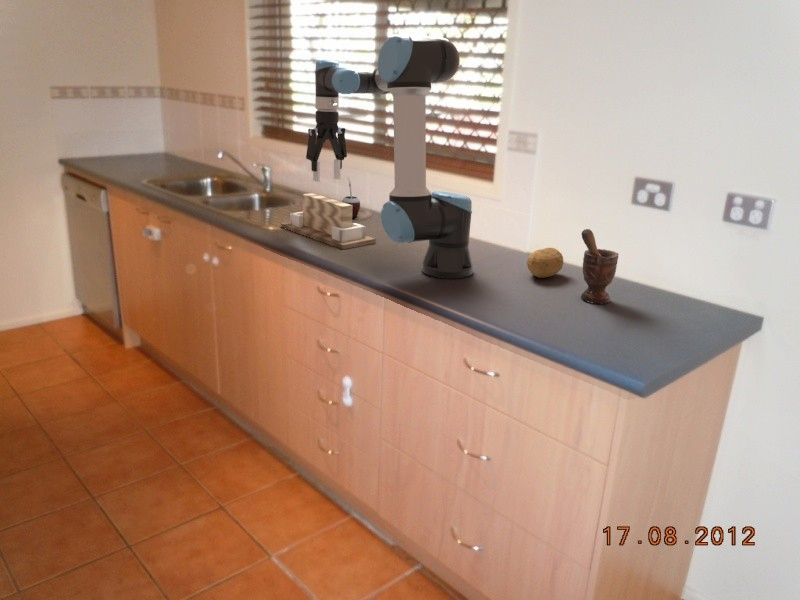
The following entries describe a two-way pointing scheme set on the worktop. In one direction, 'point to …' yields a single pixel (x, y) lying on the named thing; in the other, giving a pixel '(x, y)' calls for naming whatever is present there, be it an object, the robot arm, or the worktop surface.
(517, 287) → the worktop surface
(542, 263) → the potato
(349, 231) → the end caps
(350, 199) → the mate gourd
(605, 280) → the mortar and pestle
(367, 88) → the robot arm
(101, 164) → the worktop surface
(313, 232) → the walnut board
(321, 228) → the slat
